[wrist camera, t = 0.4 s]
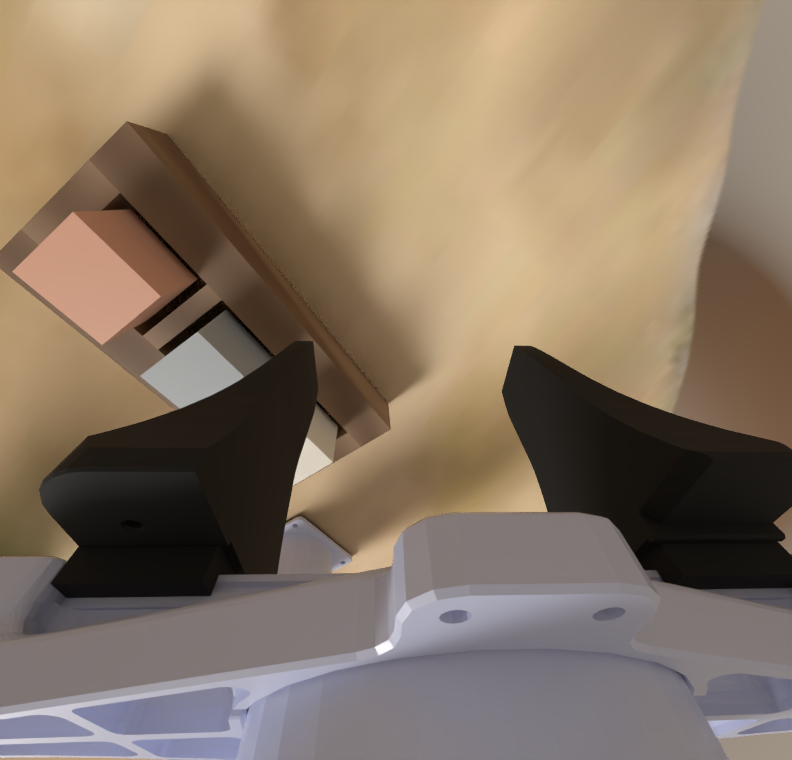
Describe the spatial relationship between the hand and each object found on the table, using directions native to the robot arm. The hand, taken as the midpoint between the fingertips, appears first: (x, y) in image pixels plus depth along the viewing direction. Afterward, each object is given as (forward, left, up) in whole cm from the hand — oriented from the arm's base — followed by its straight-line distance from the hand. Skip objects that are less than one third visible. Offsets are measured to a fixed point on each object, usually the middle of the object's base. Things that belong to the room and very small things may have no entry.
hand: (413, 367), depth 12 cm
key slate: (-10, +3, -8) cm, 13 cm away
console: (-10, +3, -11) cm, 15 cm away
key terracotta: (-10, +9, -8) cm, 16 cm away
